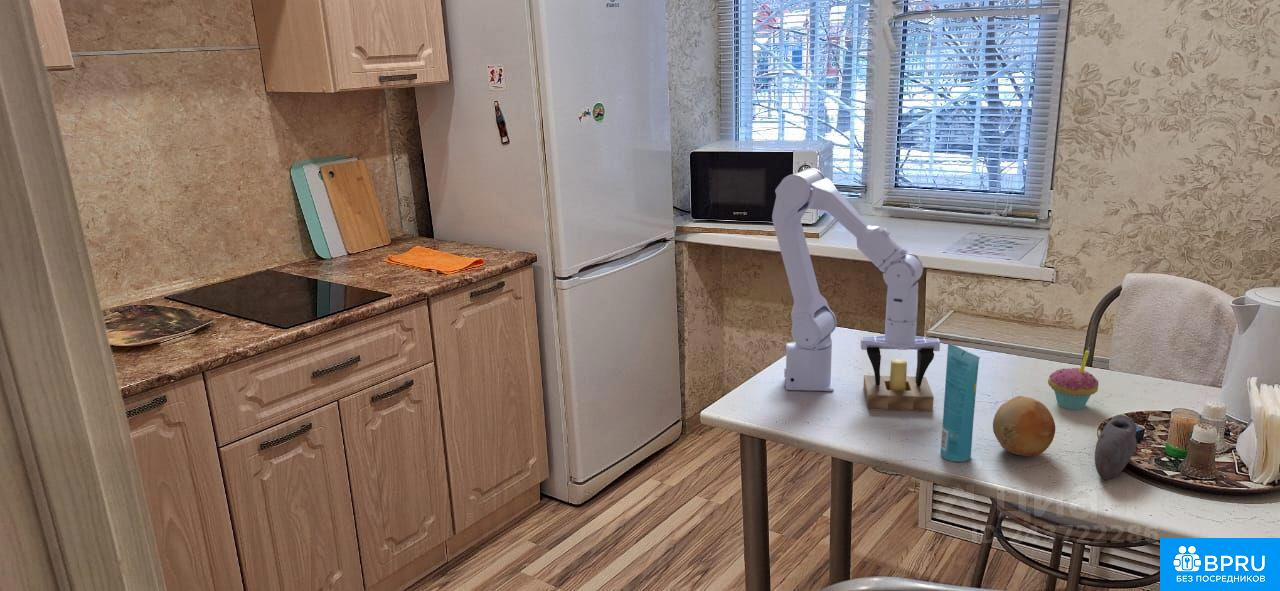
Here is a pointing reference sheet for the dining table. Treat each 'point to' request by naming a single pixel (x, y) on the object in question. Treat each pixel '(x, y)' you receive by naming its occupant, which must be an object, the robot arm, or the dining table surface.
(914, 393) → the socket
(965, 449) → the tube
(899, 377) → the dowel
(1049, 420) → the onion
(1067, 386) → the cupcake
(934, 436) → the dining table surface
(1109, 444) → the perforated stone tool
